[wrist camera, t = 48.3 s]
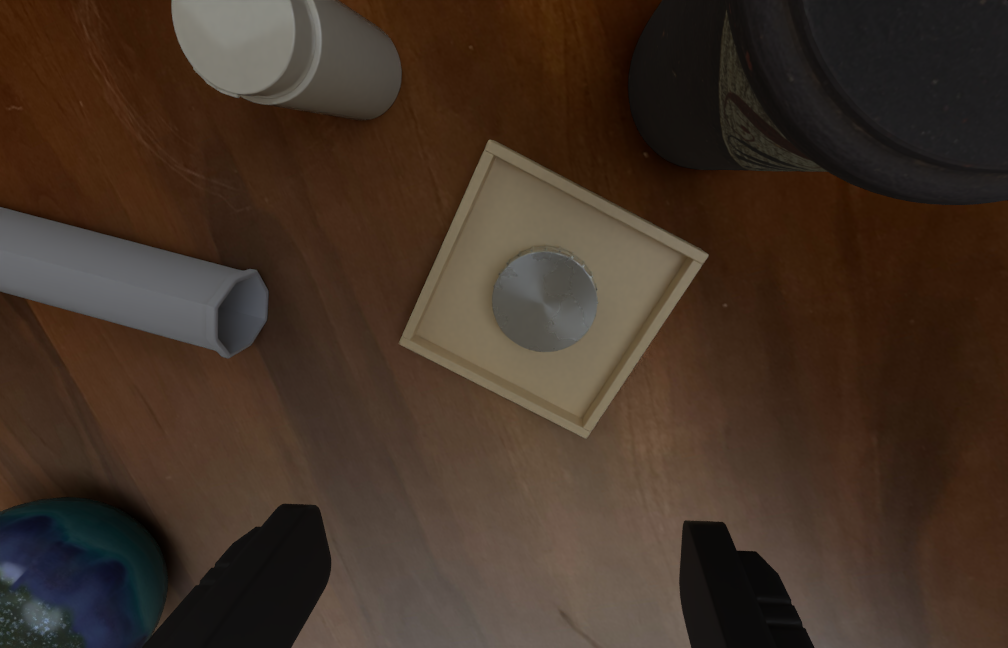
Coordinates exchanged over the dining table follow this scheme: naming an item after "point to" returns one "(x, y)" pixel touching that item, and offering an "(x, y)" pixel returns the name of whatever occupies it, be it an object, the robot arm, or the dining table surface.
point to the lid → (545, 299)
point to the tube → (131, 283)
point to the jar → (291, 54)
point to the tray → (556, 222)
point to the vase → (78, 576)
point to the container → (832, 92)
